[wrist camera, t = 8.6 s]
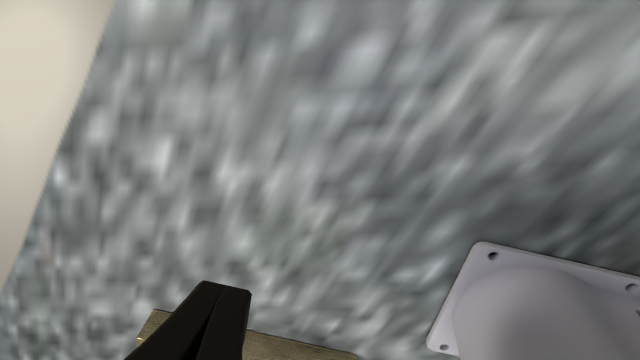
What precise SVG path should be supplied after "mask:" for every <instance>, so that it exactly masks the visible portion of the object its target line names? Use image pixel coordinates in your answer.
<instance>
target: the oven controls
mask: <svg viewBox="0 0 640 360" xmlns="http://www.w3.org/2000/svg"><path fill="white" fill-rule="evenodd" d="M171 314H172V313H168V312H164V311H159V310H155V309H154V310H153V311H152V313H151V315H150V316H149V318H148V320H147V321H146V323H145V325H144V326H143V328H142V329H141V331H140V333H139V334H138V336H137V347H138V346H140V345H141V344H142V343H143V342H144V341H145V340H146V339H147V338H148V337H149V336H150V335H151V334H152V333H153V332H154V331H155V330H156V329H157V328H158V327H159V326H160V325H161V324H162V323H163V322H164V321H165V320H166V319H167V318H168V317H169V316H170V315H171ZM242 360H356V355H355V354H350V353H346V352H341V351H337V350H332V349H328V348H324V347H319V346H315V345H310V344H306V343H301V342H297V341H293V340H288V339H284V338H279V337H275V336H270V335H266V334H261V333H257V332H253V331H248V330H246V335H245V340H244V344H243V348H242Z"/></svg>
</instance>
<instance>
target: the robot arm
mask: <svg viewBox="0 0 640 360" xmlns="http://www.w3.org/2000/svg"><path fill="white" fill-rule="evenodd" d="M492 252H496V254H494V255H489V254H490V253H492ZM629 284H630V285H629ZM627 285H628V286H627ZM251 296H252V294H251V293H250V292H249V291H248V290H245V289H240V288H236V287H231V286H227V285H222V284H218V283H213V282H209V281H202V282H200V283H199V284H198V285H197V286H196V287H195V289H194V290H193V291H192V292H191V293H190V294H189V296H188V297H187V298H186V299H185V300H184V301H183V302H182V303H181V305H180V306H179V307H178V308H177V309H176V310H175V311H174V312H173V313H172V314H171V315H170V316H169V317H168V318H167V319H166V320H165V321H164V322H163V323H162V324H161V325H160V326H159V327H158V328H157V329H156V330H155V331H154V332H153V333H152V334H151V335H150V336H149V337H148V338H147V339H146V340H145V341H144V342H143V343H142V344H141V345H140V346H138V347H137V348H136V349H135V350H134V351H133V352H132V353H131V354H130V355H128V356H127V357H126V358H125V359H124V360H242V348H243V344H244V340H245V335H246V328H247V322H248V315H249V309H250V303H251ZM426 343H427V347H428V348H429V349H431V350H433V351H438V352H442V353H446V354H451V355H455V356H459V357H460V360H640V277H638V276H634V275H630V274H625V273H621V272H616V271H612V270H608V269H603V268H599V267H594V266H590V265H586V264H581V263H577V262H572V261H568V260H564V259H559V258H555V257H550V256H546V255H542V254H537V253H533V252H528V251H524V250H520V249H515V248H511V247H506V246H502V245H498V244H493V243H489V242H478V243H476V244H475V245H474V246H473V247H472V249H471V251H470V253H469V255H468V257H467V259H466V261H465V263H464V265H463V267H462V269H461V271H460V273H459V275H458V277H457V279H456V281H455V283H454V285H453V287H452V289H451V291H450V293H449V295H448V297H447V299H446V301H445V303H444V305H443V307H442V309H441V311H440V313H439V315H438V317H437V319H436V321H435V323H434V325H433V327H432V329H431V331H430V333H429V335H428V337H427V339H426ZM443 344H445V345H443Z"/></svg>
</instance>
